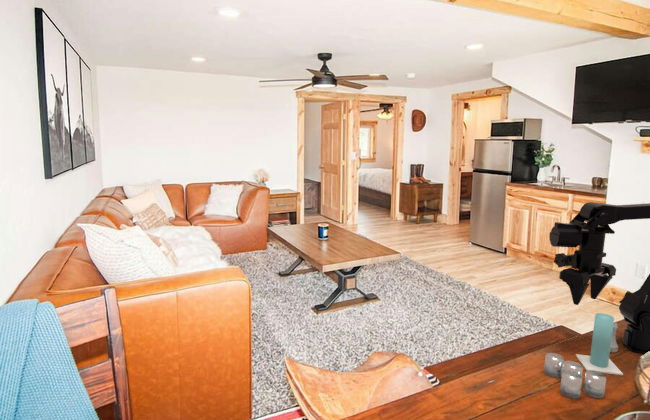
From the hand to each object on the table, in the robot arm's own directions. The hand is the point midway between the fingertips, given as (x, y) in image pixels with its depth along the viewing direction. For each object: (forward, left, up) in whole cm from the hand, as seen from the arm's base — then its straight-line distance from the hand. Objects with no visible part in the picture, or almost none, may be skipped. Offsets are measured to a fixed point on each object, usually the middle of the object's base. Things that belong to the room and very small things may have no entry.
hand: (584, 301), depth 115 cm
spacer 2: (+9, +22, -13) cm, 27 cm away
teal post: (-1, +11, -12) cm, 17 cm away
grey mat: (-1, +11, -13) cm, 17 cm away
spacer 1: (+12, +19, -13) cm, 26 cm away
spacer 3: (+6, +26, -13) cm, 30 cm away
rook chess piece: (-7, +1, -13) cm, 15 cm away
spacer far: (+11, +27, -13) cm, 32 cm away
